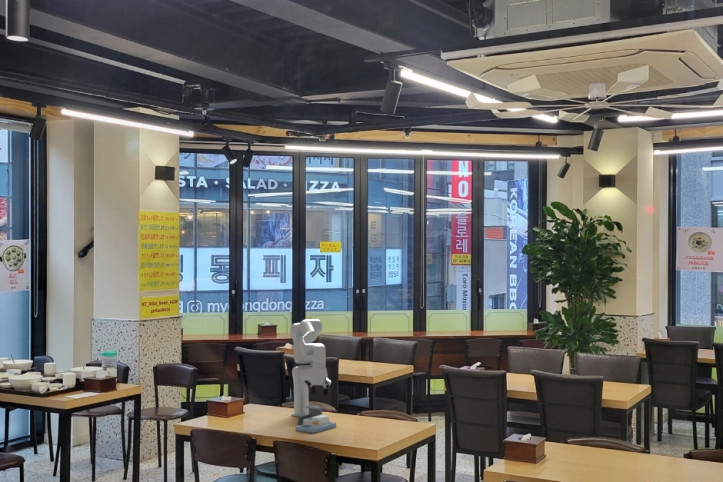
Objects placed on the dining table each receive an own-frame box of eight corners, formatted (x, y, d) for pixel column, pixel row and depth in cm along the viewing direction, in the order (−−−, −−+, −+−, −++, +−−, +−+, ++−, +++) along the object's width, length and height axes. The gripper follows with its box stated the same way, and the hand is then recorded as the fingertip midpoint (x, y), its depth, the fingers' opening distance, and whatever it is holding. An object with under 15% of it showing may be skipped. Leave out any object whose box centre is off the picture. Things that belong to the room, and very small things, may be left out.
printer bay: (310, 421, 500) (310, 404, 501) (322, 422, 495) (322, 406, 495) (297, 424, 491) (297, 408, 491) (309, 426, 485) (309, 409, 485)
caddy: (321, 424, 486) (321, 414, 486) (329, 425, 482) (329, 415, 483) (303, 429, 473) (303, 419, 473) (311, 430, 469) (311, 420, 469)
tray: (319, 424, 490) (319, 420, 490) (336, 427, 482) (336, 422, 482) (295, 430, 473) (295, 426, 473) (313, 433, 465) (313, 429, 465)
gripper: (304, 365, 483) (304, 393, 483) (326, 367, 473) (326, 396, 473) (312, 363, 489) (312, 392, 489) (334, 366, 479) (334, 394, 479)
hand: (319, 394), depth 481 cm, fingers open, 9 cm apart
